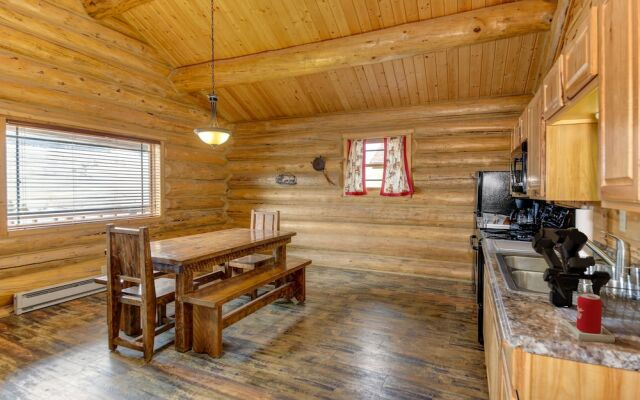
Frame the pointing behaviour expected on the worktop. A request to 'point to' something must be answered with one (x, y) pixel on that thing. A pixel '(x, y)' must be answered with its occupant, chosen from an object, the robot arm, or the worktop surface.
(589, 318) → the beverage can
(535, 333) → the worktop surface
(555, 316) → the worktop surface
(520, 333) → the worktop surface
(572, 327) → the tray
